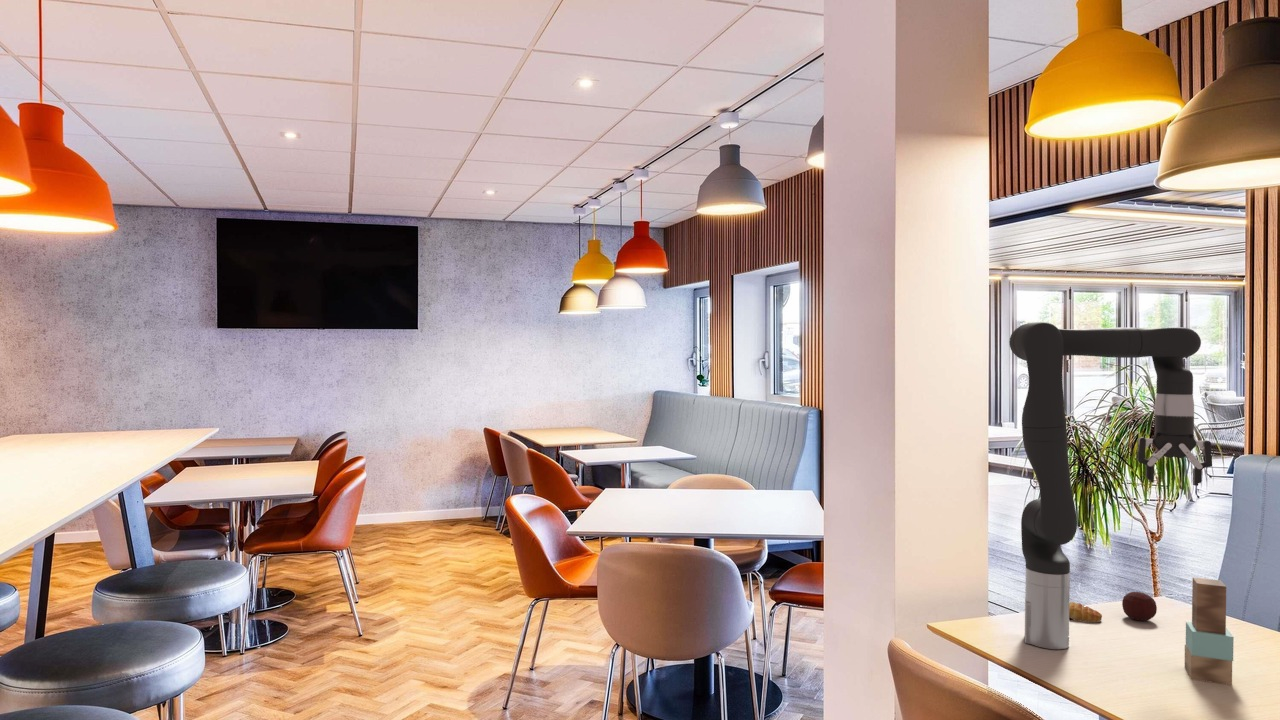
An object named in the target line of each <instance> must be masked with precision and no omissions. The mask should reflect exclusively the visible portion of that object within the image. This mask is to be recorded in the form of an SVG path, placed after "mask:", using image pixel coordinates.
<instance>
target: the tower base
mask: <svg viewBox="0 0 1280 720" xmlns="http://www.w3.org/2000/svg"><path fill="white" fill-rule="evenodd" d="M1184 669H1185V671H1186V673H1187V675H1188V676H1189V679H1190V680H1196V681H1201V682H1209V683H1215V684H1220V685H1221V684H1222V685H1227V686H1233V661H1227V660H1220V659H1213V658H1207V657H1200V656H1193V655H1192V654H1191V653H1190V651H1189V649H1188V648H1187V646H1186V644H1184Z"/></svg>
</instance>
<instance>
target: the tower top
mask: <svg viewBox="0 0 1280 720" xmlns="http://www.w3.org/2000/svg"><path fill="white" fill-rule="evenodd" d="M1234 639H1235V637H1234V636H1233V635H1232V633H1231V632H1230V631H1229V629H1228V628H1227V627H1226V635H1223V634H1216V633H1208V632H1201V631H1196V629H1195V628H1194V626H1193V625H1192V621H1185V645H1186V646H1187V648H1188V649H1189V651H1190V653H1191V654H1192V655H1193V656H1200V657H1207V658H1213V659H1220V660H1227V661H1232V662H1234Z"/></svg>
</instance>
